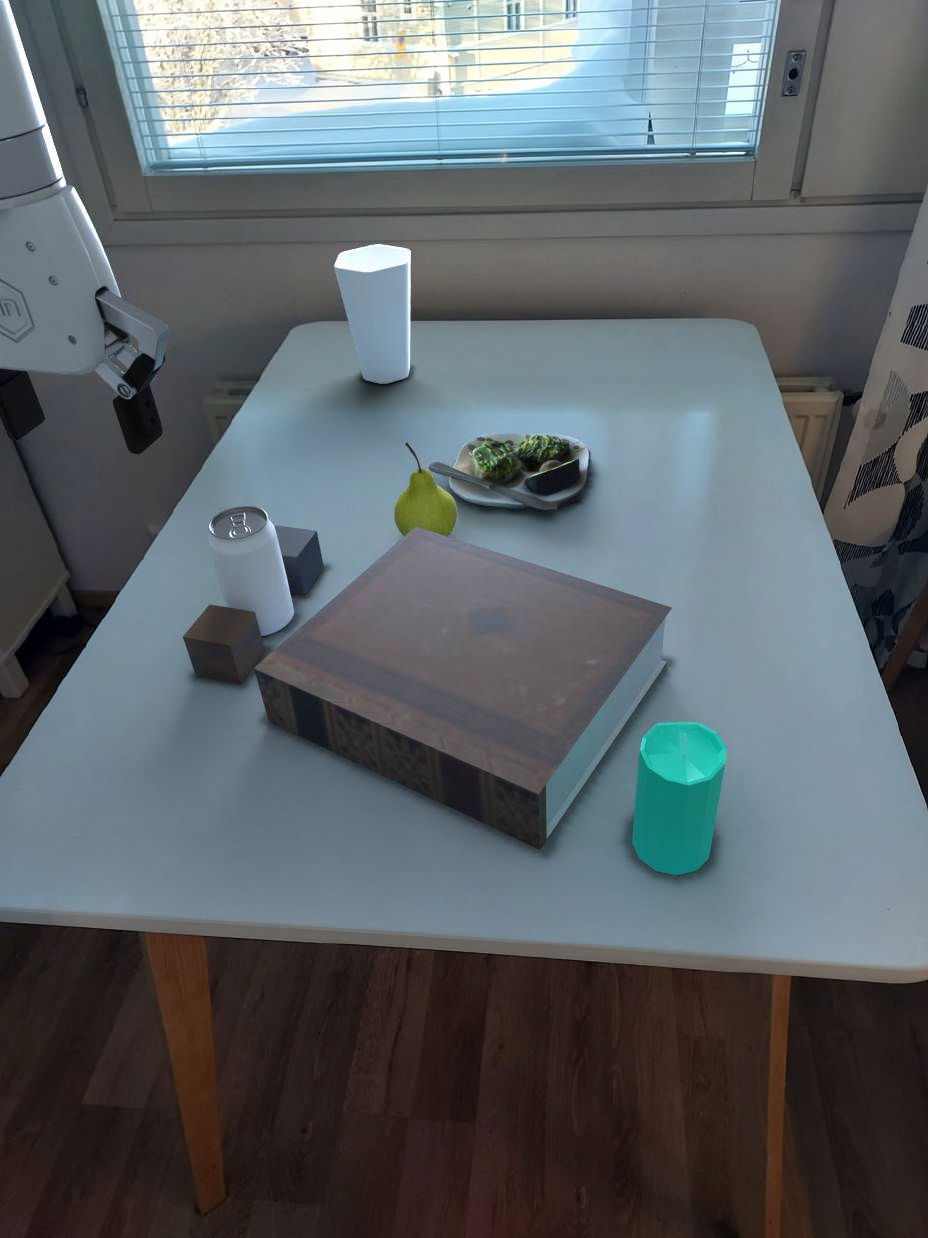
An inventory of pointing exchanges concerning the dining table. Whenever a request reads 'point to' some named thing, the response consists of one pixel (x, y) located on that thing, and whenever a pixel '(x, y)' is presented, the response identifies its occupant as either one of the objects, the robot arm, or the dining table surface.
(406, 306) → the cup
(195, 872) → the dining table surface
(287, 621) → the can
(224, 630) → the block near
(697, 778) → the candle
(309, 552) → the block far
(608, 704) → the book
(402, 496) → the fruit
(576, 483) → the salad plate
